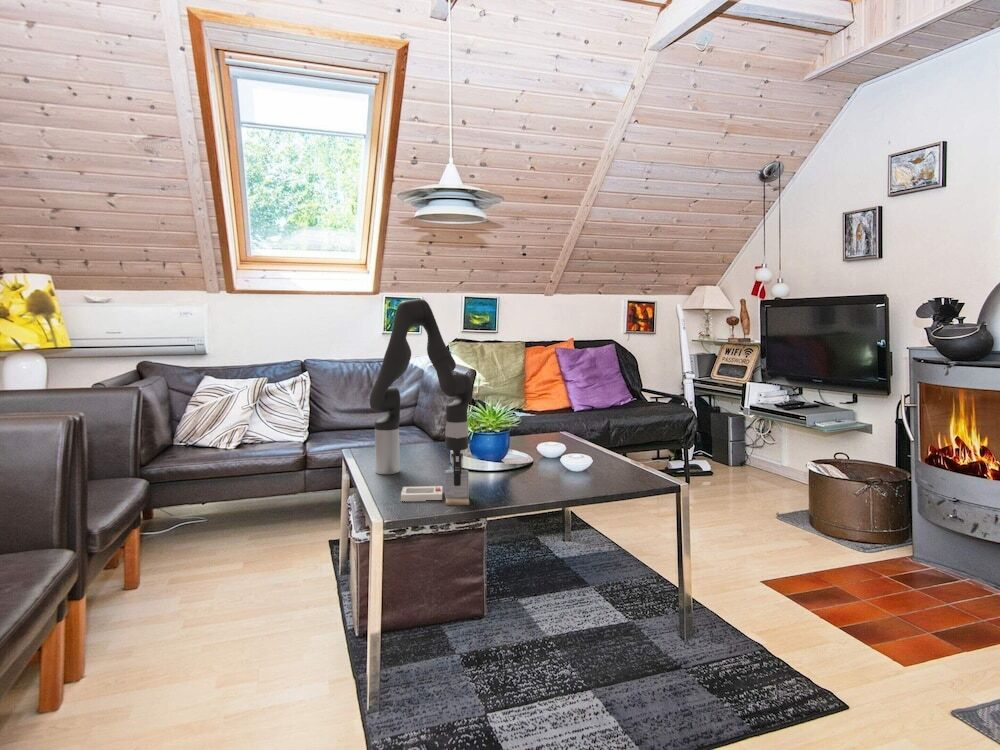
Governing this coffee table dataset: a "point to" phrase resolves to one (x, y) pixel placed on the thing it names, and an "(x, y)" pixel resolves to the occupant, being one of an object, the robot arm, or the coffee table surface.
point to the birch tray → (457, 501)
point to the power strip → (421, 493)
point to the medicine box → (453, 490)
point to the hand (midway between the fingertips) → (457, 482)
